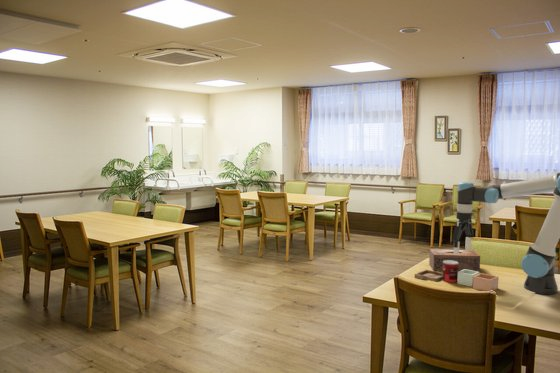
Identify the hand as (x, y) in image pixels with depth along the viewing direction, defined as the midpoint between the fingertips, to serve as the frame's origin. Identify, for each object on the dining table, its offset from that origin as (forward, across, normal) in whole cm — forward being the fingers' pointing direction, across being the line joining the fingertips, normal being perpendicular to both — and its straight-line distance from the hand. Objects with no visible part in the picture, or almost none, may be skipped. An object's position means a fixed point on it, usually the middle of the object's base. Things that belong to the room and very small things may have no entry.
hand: (462, 251), depth 253 cm
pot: (+17, +1, +14) cm, 22 cm away
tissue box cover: (+18, -26, -16) cm, 35 cm away
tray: (+18, +1, -16) cm, 24 cm away
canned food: (+18, +1, -5) cm, 18 cm away
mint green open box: (+18, -1, +4) cm, 18 cm away
